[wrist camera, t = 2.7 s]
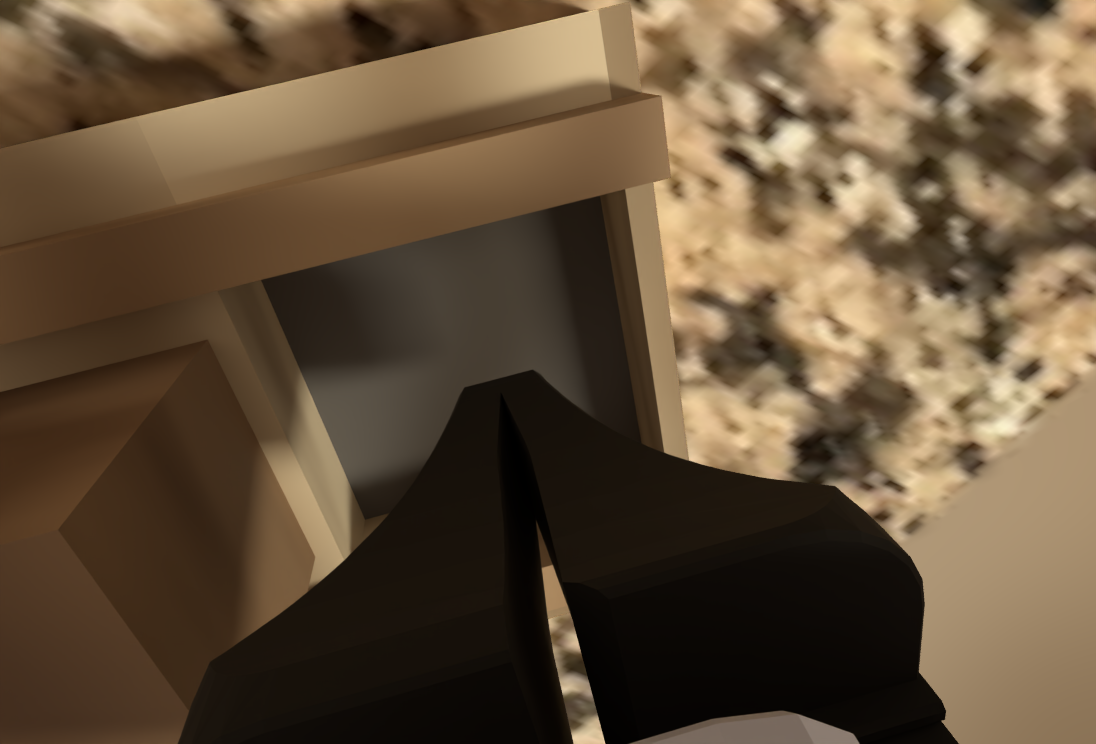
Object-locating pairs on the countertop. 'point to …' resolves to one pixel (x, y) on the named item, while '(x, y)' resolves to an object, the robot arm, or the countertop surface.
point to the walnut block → (132, 547)
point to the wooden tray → (366, 255)
